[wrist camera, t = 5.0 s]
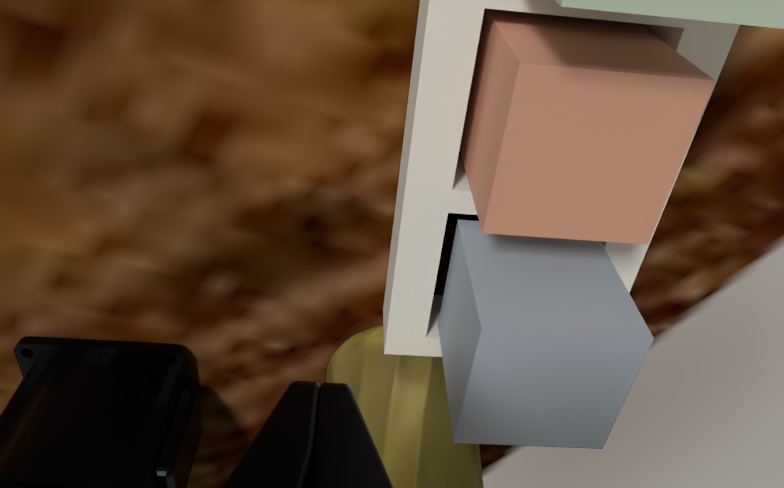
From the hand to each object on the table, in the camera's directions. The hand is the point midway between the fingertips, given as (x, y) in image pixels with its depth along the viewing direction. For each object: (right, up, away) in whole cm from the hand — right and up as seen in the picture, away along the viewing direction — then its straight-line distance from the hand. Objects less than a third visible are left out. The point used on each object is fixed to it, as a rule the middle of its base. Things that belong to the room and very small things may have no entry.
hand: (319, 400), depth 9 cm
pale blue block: (+5, +1, +11) cm, 13 cm away
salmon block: (+6, +7, +10) cm, 13 cm away
